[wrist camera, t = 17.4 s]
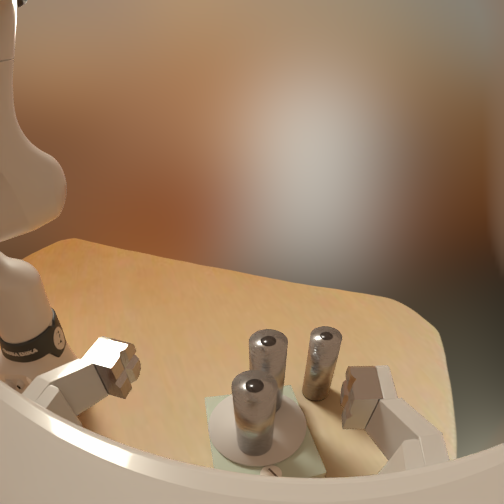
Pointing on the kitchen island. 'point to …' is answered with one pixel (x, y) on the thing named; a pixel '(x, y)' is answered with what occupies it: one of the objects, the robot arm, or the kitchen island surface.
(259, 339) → the cylinder
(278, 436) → the scale
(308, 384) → the cylinder
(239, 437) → the cylinder
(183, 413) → the kitchen island surface
